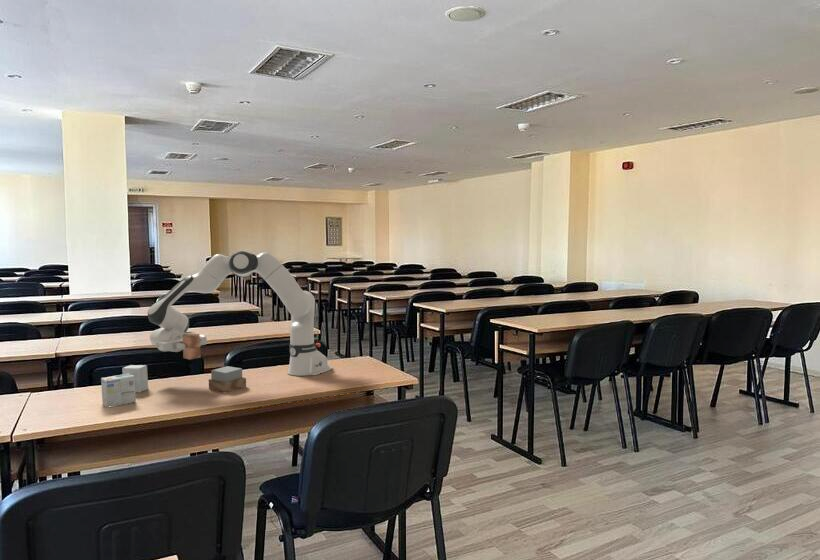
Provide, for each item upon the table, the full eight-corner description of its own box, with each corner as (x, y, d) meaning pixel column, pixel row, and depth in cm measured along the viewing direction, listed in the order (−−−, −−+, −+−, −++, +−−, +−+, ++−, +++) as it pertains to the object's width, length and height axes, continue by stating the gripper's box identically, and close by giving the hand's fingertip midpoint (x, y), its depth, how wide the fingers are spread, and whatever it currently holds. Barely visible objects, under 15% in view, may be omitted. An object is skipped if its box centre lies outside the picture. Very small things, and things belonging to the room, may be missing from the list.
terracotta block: (194, 356, 238) (193, 333, 237) (200, 357, 235) (199, 334, 234) (183, 358, 234) (182, 334, 233) (189, 359, 231) (189, 335, 230)
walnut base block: (230, 384, 247) (230, 374, 246) (246, 388, 240) (245, 377, 240) (208, 389, 238) (208, 379, 237) (224, 393, 231) (224, 383, 231)
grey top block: (227, 375, 245) (227, 366, 245) (242, 377, 240) (242, 368, 240) (211, 379, 237) (211, 370, 237) (226, 382, 233) (225, 372, 232)
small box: (148, 389, 237) (147, 365, 237) (140, 392, 232) (139, 368, 231) (130, 388, 238) (129, 364, 237) (122, 392, 233) (121, 367, 232)
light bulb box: (130, 398, 223) (129, 372, 222) (136, 402, 218) (135, 375, 217) (101, 404, 216) (100, 377, 215) (106, 408, 211) (105, 380, 210)
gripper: (151, 337, 233) (169, 341, 225) (196, 331, 250) (213, 334, 241) (152, 352, 234) (169, 356, 225) (196, 345, 250) (214, 348, 242)
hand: (192, 345), depth 233 cm, fingers closed on terracotta block, 5 cm apart
